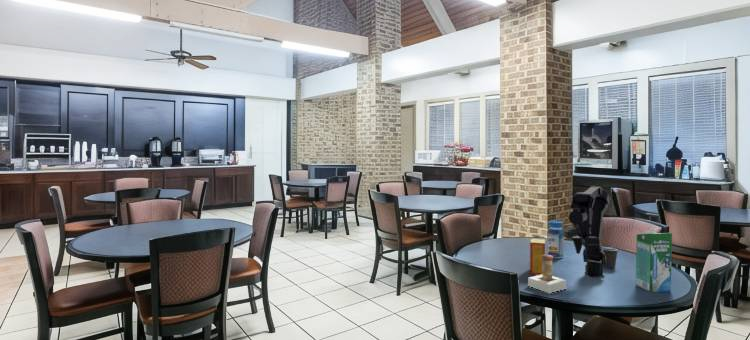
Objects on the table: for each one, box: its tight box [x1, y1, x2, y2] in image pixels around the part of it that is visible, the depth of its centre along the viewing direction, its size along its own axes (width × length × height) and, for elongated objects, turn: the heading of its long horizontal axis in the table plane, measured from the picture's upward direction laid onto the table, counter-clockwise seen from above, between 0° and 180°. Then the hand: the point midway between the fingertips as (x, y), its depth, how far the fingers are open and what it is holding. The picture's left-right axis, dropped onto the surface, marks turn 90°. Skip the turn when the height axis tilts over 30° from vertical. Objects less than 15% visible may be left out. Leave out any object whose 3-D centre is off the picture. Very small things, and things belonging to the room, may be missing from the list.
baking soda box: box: [529, 238, 546, 275], centre depth 200 cm, size 10×6×16 cm
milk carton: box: [635, 230, 673, 293], centre depth 175 cm, size 9×9×25 cm
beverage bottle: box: [547, 220, 565, 259], centre depth 228 cm, size 8×8×20 cm
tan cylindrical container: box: [542, 254, 554, 282], centre depth 177 cm, size 5×5×14 cm
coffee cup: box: [602, 246, 619, 269], centre depth 207 cm, size 8×8×10 cm
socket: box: [527, 274, 567, 294], centre depth 177 cm, size 11×11×4 cm
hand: (582, 256), depth 180 cm, fingers open, 9 cm apart
